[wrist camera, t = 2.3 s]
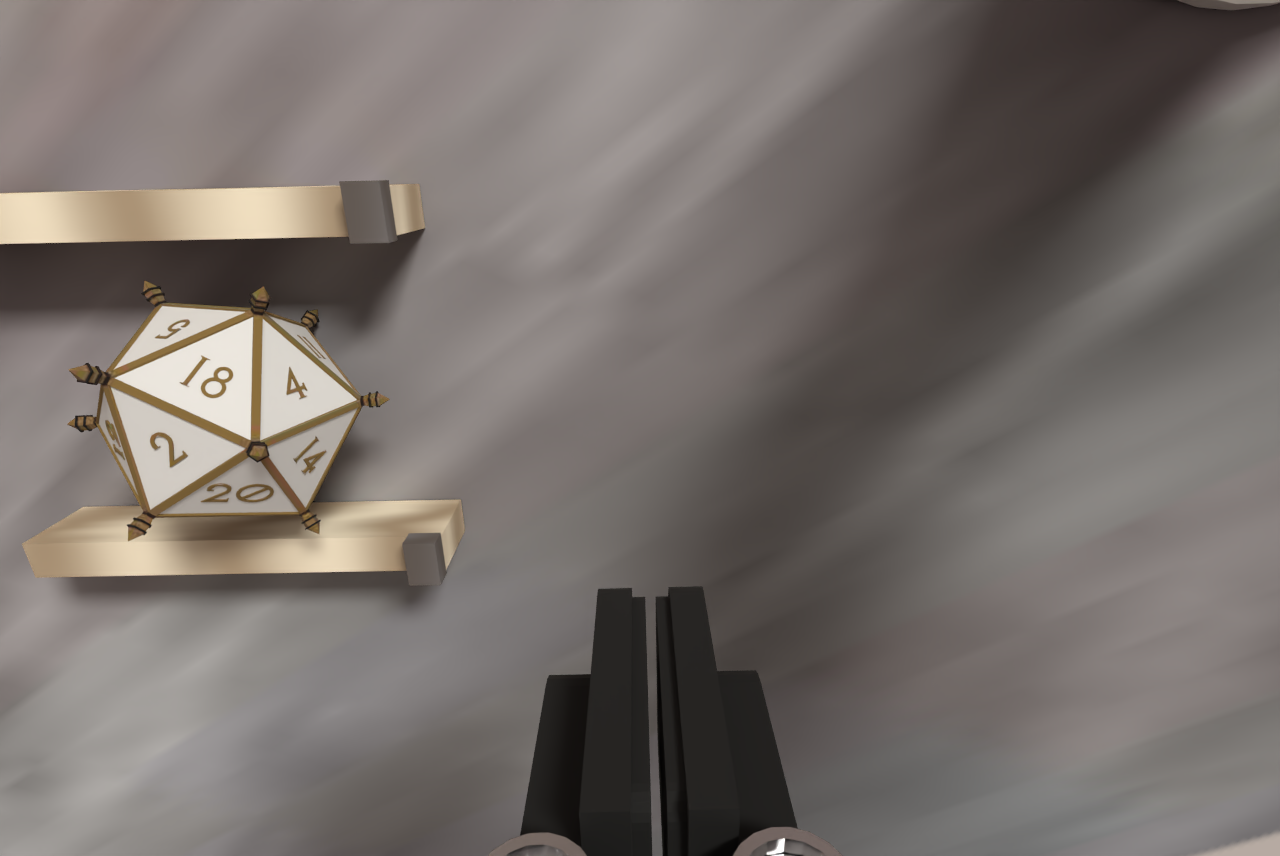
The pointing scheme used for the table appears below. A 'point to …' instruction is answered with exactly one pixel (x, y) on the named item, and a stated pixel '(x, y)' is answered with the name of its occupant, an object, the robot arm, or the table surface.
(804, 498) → the table surface
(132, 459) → the game die
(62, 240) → the parallel beige rails
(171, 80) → the table surface
